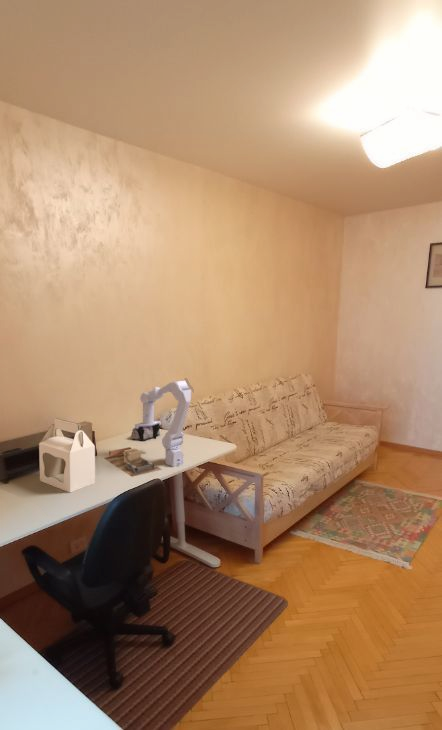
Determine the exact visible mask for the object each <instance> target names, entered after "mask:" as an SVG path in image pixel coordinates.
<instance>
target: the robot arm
mask: <svg viewBox="0 0 442 730" xmlns="http://www.w3.org/2000/svg"><path fill="white" fill-rule="evenodd" d="M167 393H171V394H172V396H173V397H174V399H175V400H176V401H177V402H178V403H177V406H176V409H175V413H174V415H173V419H172V423H171V424H170V425H171V426H170V428H169V430H168V431H166V433H165V435H164V436H163V437H162V439H161V444H162V447H163V449H165V453H164V456H165V459H164V460H165V461H164V462H165V465H167V466H170V467H171V468H175V467H180V466H184V453H183V451H182V450H181V447H182V445H183V443H184V435H185V434H184V433H183V431H182V430H183V426H184V424H185V420H186V416H187V414H188V411H189V408H190V405H191V401H192V400H191V399H192V393H193V390H192V388H191V387H190V386H189V384H188V382H187V380H186V379H184V380H178V381H172V382H169V383H167V384H166V385H164V386H162V387H159V386H155V387H153V389H150V390H149V389H148V391H147V392H141V394H140V402H141V403H142V422H140V423H136V424H135V423H134V428H136V430H137V432H138V434H139V437H140V440H139V441H140V442H144V440H143V435H144V429H143V428H142V427H148V426H152V429H153V438H152V439H154V440H156V439H157V437H158V435H157V433H158V431H160V430H159V429H161V426H162V421H161V420H154V419H155V418H154V416H155V413H154V411H155V410H154V409H155V408H154V407H155V404H156V401H157V400H160V399H161V398H163V397H164V395H165V394H167Z"/></svg>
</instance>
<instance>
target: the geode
mask: <svg viewBox="0 0 442 730" xmlns="http://www.w3.org/2000/svg"><path fill="white" fill-rule="evenodd" d="M142 428H143V429H144V435H143V441H146V440H148V439H154V438H153V429H152V426H148V427H142ZM160 429H161V428H160ZM160 429H159V431H158V433H157V436H161V433H160ZM131 440H137V441H140V437H139V434H138V432H137V430H136V428H135V427H134V428H132V432H131Z"/></svg>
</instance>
